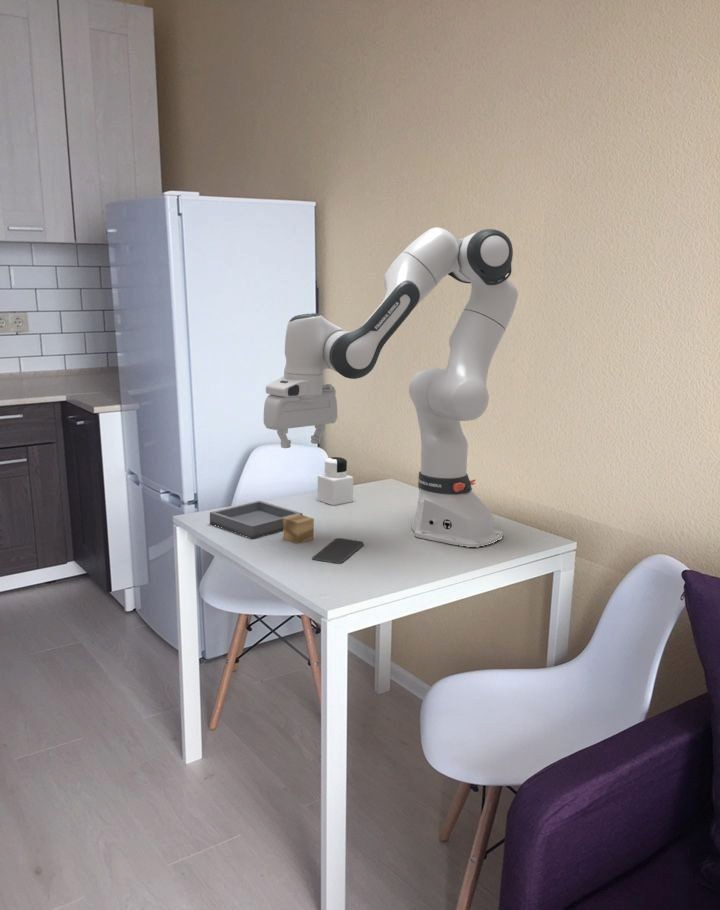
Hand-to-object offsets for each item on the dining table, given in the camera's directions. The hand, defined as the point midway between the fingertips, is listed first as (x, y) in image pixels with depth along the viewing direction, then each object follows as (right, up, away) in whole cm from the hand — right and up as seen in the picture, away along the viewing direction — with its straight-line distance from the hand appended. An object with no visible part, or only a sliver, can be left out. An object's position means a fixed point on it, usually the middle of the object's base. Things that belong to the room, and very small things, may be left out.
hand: (300, 445), depth 186 cm
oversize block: (-1, -22, +3) cm, 22 cm away
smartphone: (+9, -24, -6) cm, 27 cm away
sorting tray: (-12, -19, +12) cm, 26 cm away
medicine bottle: (+7, -15, +36) cm, 39 cm away
